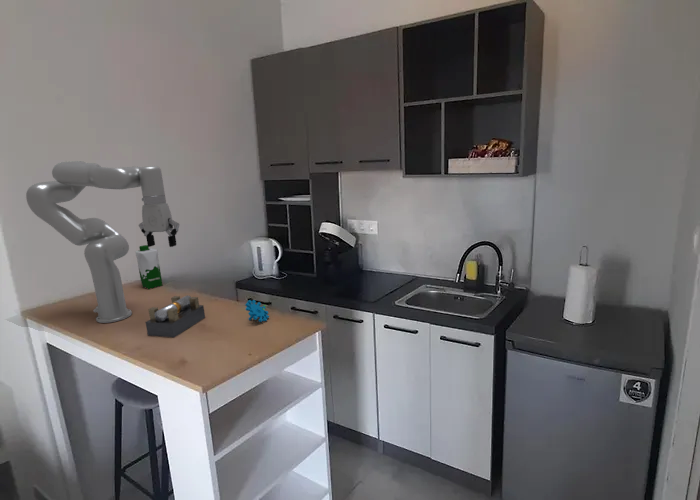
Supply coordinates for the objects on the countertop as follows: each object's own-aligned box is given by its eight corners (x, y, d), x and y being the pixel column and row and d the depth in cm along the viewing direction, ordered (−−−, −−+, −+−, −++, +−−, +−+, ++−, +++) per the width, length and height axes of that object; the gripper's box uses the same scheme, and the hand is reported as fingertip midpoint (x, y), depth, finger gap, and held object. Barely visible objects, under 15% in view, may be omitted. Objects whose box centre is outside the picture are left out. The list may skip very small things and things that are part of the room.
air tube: (165, 321, 151) (163, 310, 150) (155, 321, 152) (153, 310, 151) (193, 305, 166) (192, 295, 165) (184, 305, 167) (183, 295, 166)
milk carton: (157, 282, 219) (150, 243, 215) (165, 285, 213) (158, 245, 208) (139, 287, 213) (132, 247, 208) (147, 290, 207) (140, 249, 202)
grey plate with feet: (147, 335, 153) (143, 311, 151) (180, 316, 170) (177, 294, 168) (174, 337, 150) (169, 312, 148) (205, 317, 167) (201, 295, 165)
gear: (260, 322, 154) (242, 301, 156) (250, 333, 156) (232, 312, 158) (276, 315, 164) (259, 295, 166) (266, 325, 166) (250, 305, 168)
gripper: (127, 202, 159) (136, 248, 163) (167, 201, 154) (175, 248, 158) (142, 199, 166) (150, 243, 170) (181, 198, 161) (188, 243, 165)
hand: (162, 246), depth 164 cm, fingers open, 9 cm apart
